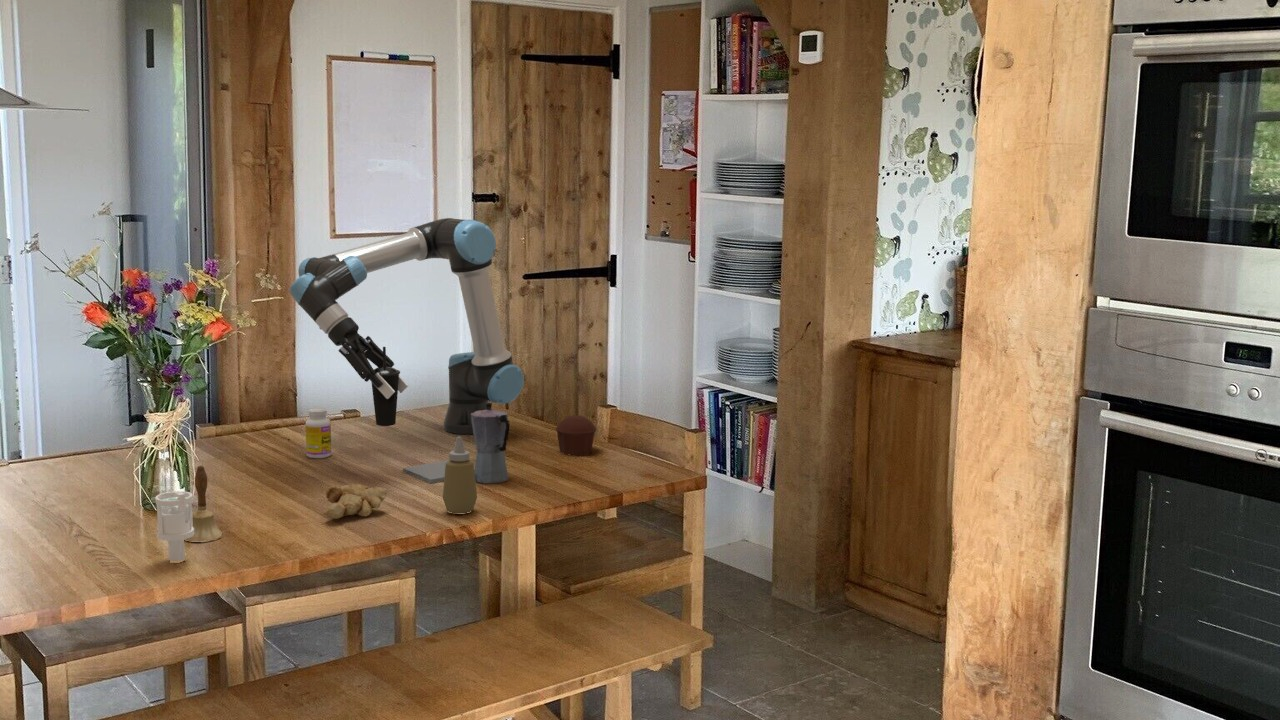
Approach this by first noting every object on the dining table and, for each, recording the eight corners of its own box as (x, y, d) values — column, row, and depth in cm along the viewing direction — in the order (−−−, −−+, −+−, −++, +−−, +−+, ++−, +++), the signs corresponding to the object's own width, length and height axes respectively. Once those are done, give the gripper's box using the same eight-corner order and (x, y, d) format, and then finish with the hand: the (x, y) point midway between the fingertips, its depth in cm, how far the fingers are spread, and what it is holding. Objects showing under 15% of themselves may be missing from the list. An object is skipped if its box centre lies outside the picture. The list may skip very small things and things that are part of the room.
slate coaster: (449, 463, 336) (449, 459, 336) (477, 474, 325) (477, 470, 325) (403, 471, 327) (402, 468, 327) (430, 483, 316) (430, 479, 316)
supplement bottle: (322, 460, 337) (321, 413, 335) (301, 457, 339) (300, 411, 337) (336, 454, 344) (335, 408, 341) (315, 452, 346) (314, 406, 343)
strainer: (169, 569, 252) (165, 497, 249) (152, 561, 257) (148, 490, 254) (202, 561, 257) (198, 490, 255) (184, 553, 262) (181, 483, 259)
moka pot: (489, 471, 329) (488, 396, 325) (526, 483, 318) (526, 406, 314) (459, 477, 322) (458, 401, 319) (496, 490, 311) (496, 411, 308)
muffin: (599, 455, 346) (600, 420, 344) (560, 457, 344) (560, 422, 342) (590, 445, 358) (591, 411, 356) (552, 447, 355) (552, 412, 353)
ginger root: (375, 493, 302) (375, 464, 299) (394, 526, 290) (394, 496, 286) (310, 503, 296) (309, 473, 292) (326, 537, 283) (326, 507, 280)
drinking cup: (404, 421, 323) (403, 344, 320) (396, 428, 316) (394, 349, 312) (376, 420, 324) (374, 343, 321) (366, 426, 317) (364, 348, 313)
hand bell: (230, 532, 276) (227, 462, 273) (211, 544, 268) (207, 472, 265) (195, 530, 277) (191, 460, 274) (175, 542, 269) (171, 470, 266)
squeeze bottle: (446, 506, 297) (445, 432, 294) (479, 507, 297) (479, 433, 294) (439, 516, 289) (438, 440, 286) (474, 517, 289) (473, 441, 286)
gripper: (347, 329, 329) (405, 394, 328) (309, 341, 311) (370, 410, 309) (365, 310, 327) (424, 375, 326) (327, 321, 308) (389, 390, 307)
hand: (397, 392), depth 318 cm, fingers closed on drinking cup, 7 cm apart
